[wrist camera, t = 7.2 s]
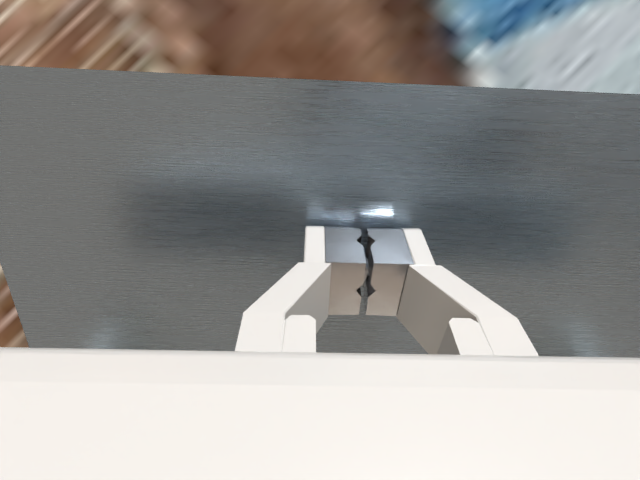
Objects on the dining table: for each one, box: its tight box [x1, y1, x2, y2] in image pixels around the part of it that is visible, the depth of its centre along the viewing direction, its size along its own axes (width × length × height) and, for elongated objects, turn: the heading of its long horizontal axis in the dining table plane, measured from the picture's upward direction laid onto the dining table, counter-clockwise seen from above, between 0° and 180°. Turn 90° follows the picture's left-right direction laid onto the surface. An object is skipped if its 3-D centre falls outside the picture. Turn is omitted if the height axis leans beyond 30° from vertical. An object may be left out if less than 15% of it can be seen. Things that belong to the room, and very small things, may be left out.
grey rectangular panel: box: [0, 66, 640, 358], centre depth 12 cm, size 2×22×12 cm
